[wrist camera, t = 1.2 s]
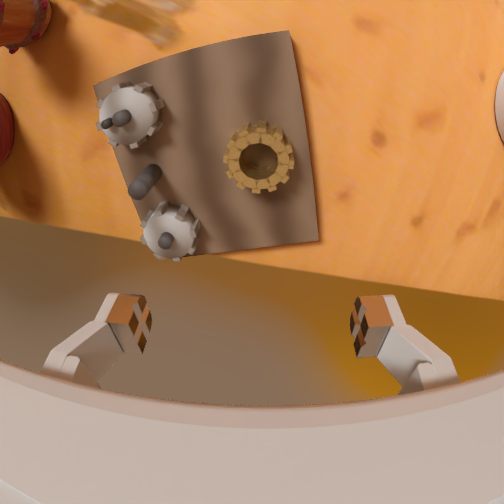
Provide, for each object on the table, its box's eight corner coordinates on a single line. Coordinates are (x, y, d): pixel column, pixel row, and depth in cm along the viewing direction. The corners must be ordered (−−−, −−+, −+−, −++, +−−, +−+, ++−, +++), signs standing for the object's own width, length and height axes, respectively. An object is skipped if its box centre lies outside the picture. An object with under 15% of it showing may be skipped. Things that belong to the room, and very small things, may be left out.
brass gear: (286, 116, 27) (288, 123, 25) (295, 174, 31) (298, 188, 28) (222, 126, 28) (216, 135, 26) (235, 183, 32) (231, 197, 29)
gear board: (288, 32, 24) (292, 24, 18) (316, 231, 37) (324, 266, 32) (102, 83, 27) (67, 93, 21) (162, 251, 41) (146, 285, 35)
